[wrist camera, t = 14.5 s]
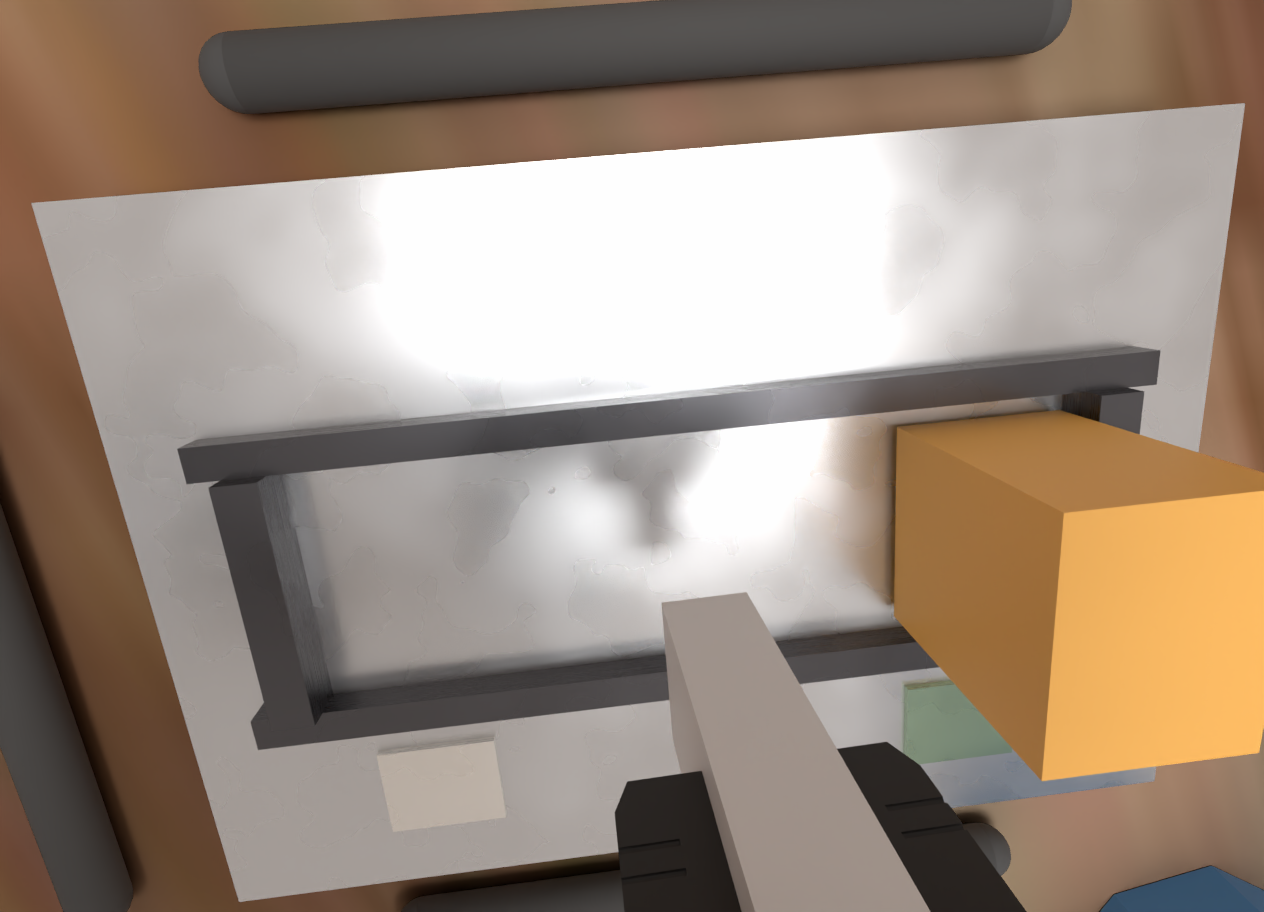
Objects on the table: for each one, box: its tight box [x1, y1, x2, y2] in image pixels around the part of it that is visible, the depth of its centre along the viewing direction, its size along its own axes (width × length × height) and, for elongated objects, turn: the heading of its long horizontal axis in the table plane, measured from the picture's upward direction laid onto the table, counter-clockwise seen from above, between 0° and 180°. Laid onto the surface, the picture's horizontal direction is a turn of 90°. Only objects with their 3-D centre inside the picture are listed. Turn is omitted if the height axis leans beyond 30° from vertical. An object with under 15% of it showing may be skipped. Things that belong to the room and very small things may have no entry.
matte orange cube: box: [894, 410, 1264, 781], centre depth 15 cm, size 4×5×6 cm
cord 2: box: [401, 823, 1011, 912], centre depth 23 cm, size 20×2×2 cm, turn 95°
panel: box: [31, 103, 1245, 902], centre depth 18 cm, size 26×18×4 cm
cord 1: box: [199, 0, 1072, 114], centre depth 16 cm, size 20×2×2 cm, turn 95°
